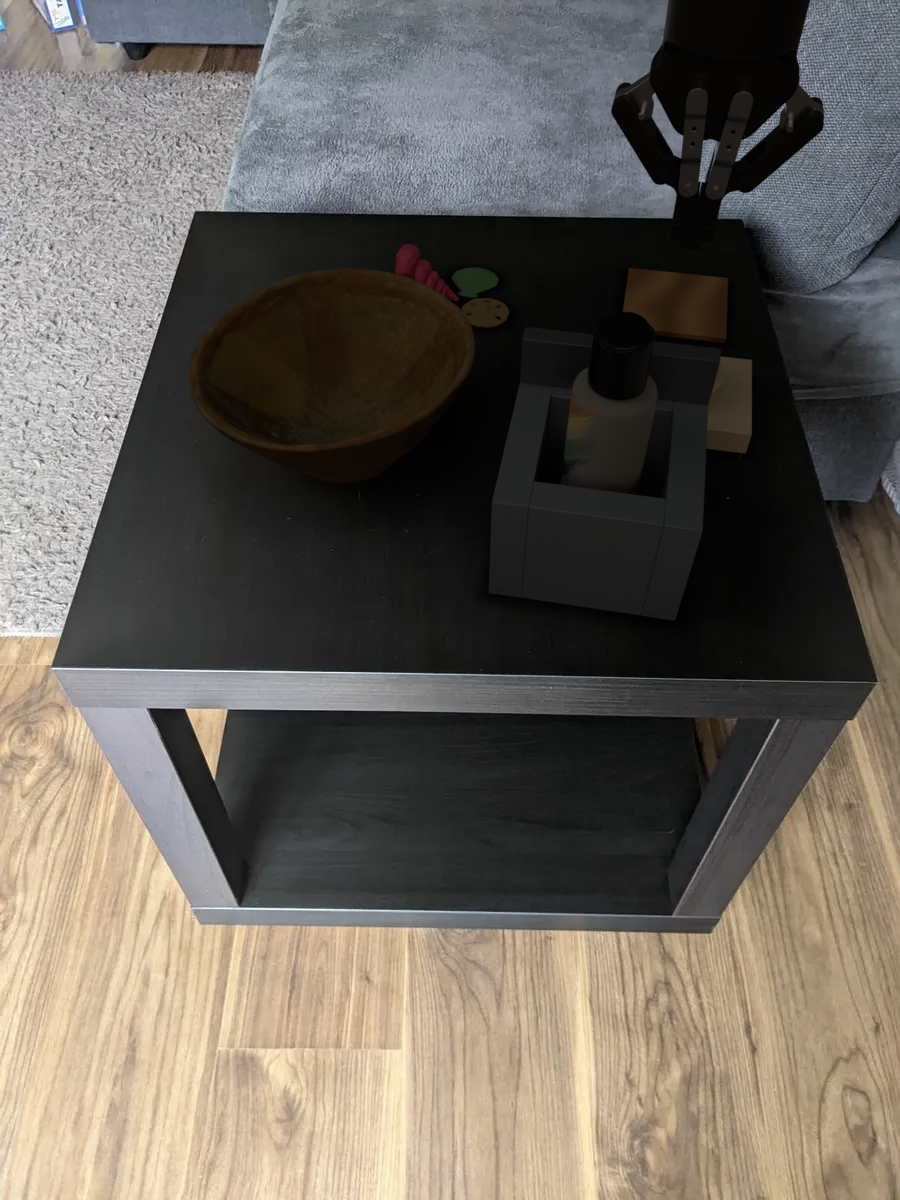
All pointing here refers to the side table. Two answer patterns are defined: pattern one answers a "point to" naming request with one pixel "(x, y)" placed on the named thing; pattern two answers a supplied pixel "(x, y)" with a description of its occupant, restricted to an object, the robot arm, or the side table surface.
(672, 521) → the dark grey square holder
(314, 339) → the bowl
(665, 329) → the coaster
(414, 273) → the toy pieces
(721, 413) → the control box
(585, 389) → the spray bottle
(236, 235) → the side table surface
